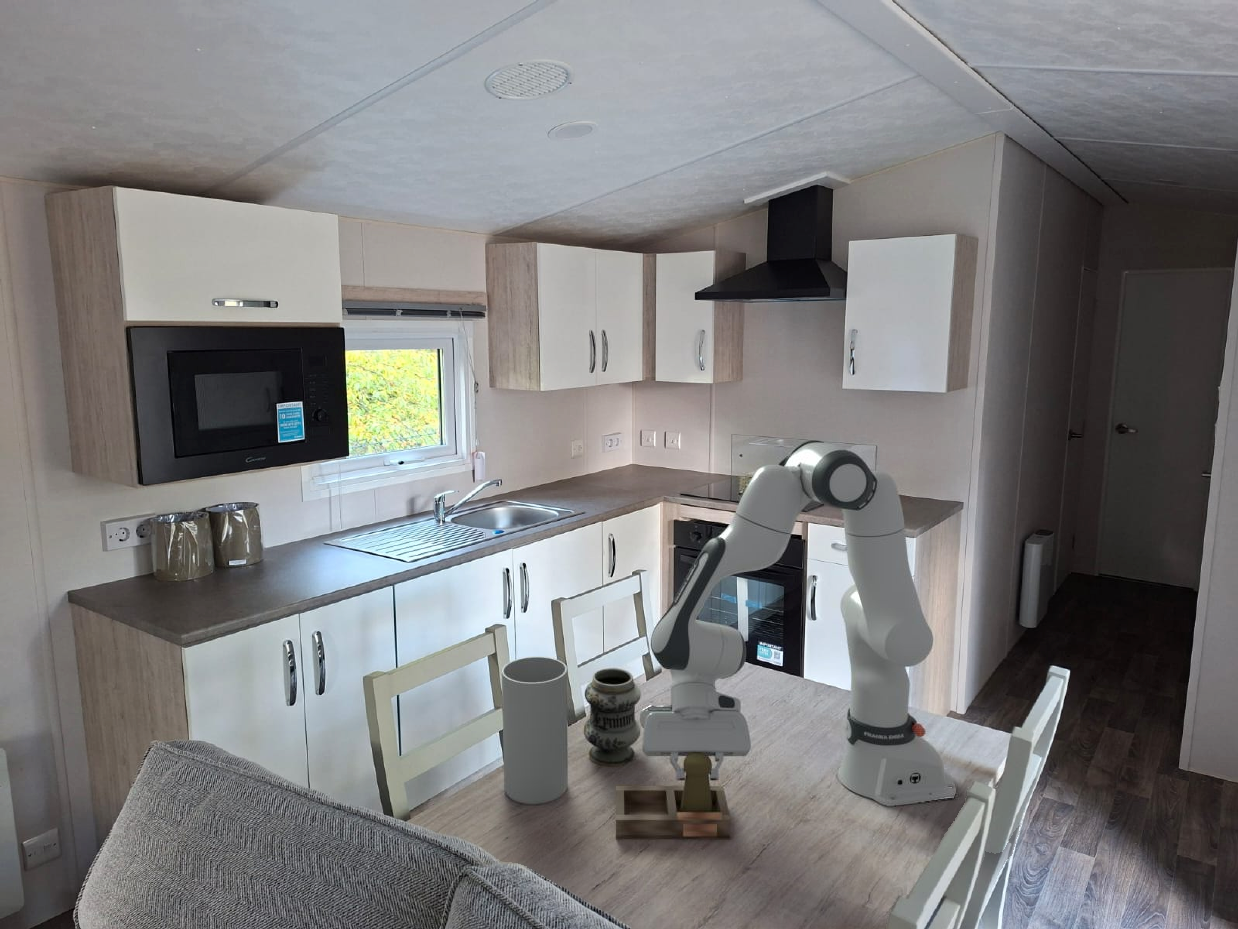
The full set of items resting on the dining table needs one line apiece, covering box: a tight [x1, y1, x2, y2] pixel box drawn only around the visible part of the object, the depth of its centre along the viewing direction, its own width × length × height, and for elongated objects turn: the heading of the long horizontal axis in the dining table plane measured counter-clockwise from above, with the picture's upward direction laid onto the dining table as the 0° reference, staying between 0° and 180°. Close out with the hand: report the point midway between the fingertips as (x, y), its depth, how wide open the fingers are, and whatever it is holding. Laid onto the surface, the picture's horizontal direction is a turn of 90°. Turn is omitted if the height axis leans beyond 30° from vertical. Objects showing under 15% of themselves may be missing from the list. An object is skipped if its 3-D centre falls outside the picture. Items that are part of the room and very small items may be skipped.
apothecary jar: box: [583, 667, 642, 767], centre depth 180 cm, size 12×12×18 cm
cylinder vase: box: [501, 656, 569, 805], centre depth 166 cm, size 12×12×25 cm
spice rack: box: [615, 785, 732, 840], centre depth 157 cm, size 20×11×4 cm, turn 90°
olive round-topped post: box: [680, 752, 713, 812], centre depth 156 cm, size 6×6×11 cm
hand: (697, 779), depth 156 cm, fingers closed on olive round-topped post, 5 cm apart
